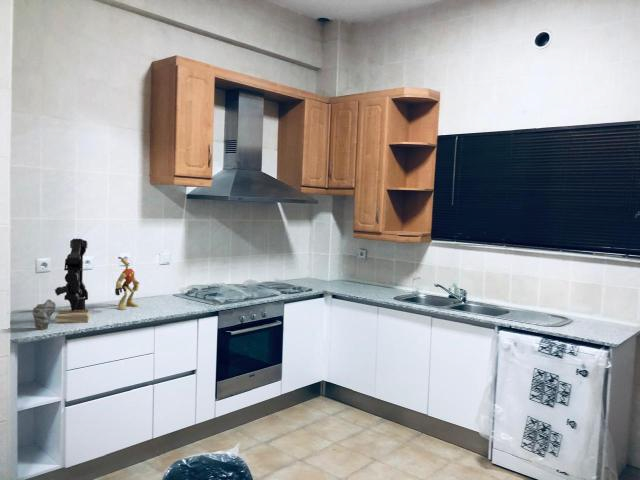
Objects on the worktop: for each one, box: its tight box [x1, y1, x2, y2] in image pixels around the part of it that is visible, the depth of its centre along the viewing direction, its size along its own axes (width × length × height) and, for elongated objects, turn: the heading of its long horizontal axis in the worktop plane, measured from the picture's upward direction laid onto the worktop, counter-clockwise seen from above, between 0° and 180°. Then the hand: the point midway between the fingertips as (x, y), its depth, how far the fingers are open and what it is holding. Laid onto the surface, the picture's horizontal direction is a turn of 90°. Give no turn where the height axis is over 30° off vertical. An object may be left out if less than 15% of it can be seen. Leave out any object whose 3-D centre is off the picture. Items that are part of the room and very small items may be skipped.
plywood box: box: [54, 311, 91, 324], centre depth 276 cm, size 10×15×4 cm, turn 108°
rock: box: [32, 299, 57, 330], centre depth 257 cm, size 13×6×15 cm, turn 52°
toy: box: [114, 256, 140, 311], centre depth 310 cm, size 23×9×30 cm, turn 168°
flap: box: [57, 309, 90, 313], centre depth 278 cm, size 4×14×1 cm, turn 108°
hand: (73, 310), depth 276 cm, fingers closed
